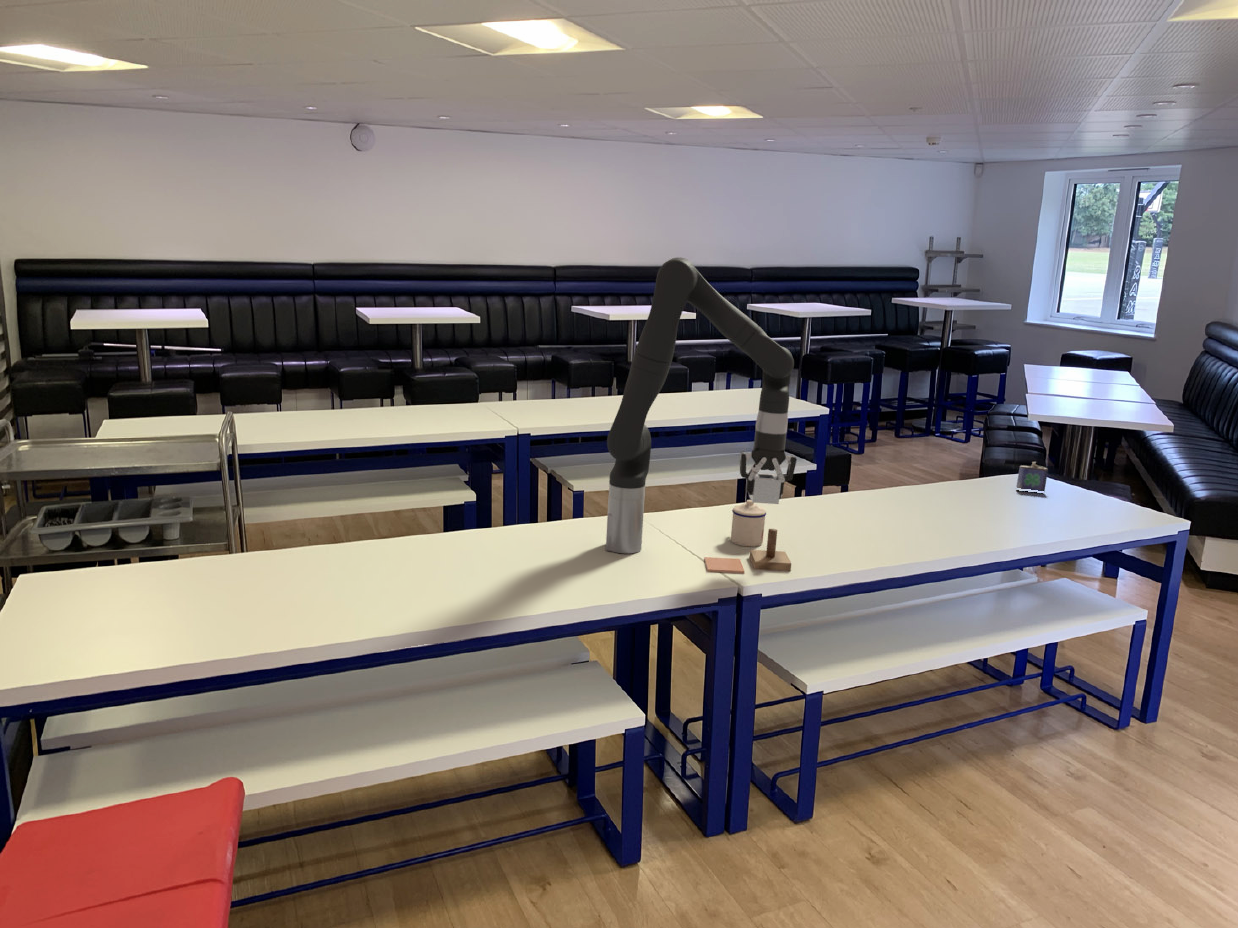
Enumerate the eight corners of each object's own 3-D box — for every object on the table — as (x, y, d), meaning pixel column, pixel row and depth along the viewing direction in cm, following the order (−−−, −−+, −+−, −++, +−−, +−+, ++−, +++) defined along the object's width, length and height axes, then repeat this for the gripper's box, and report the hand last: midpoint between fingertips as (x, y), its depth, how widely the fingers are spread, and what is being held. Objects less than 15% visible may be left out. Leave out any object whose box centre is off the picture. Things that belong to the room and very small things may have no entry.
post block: (754, 569, 230) (757, 534, 228) (749, 557, 239) (752, 523, 237) (790, 570, 230) (794, 536, 228) (784, 558, 239) (787, 525, 237)
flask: (1016, 491, 322) (1021, 461, 320) (1015, 489, 325) (1019, 459, 323) (1044, 494, 320) (1049, 464, 318) (1043, 492, 323) (1048, 462, 320)
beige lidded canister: (769, 546, 248) (773, 504, 245) (737, 548, 245) (741, 505, 243) (750, 532, 259) (754, 492, 256) (720, 534, 257) (723, 493, 254)
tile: (707, 571, 226) (707, 569, 226) (704, 559, 235) (704, 557, 235) (744, 573, 226) (744, 571, 226) (739, 561, 235) (739, 558, 235)
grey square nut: (752, 502, 227) (755, 478, 225) (748, 495, 233) (751, 472, 232) (778, 504, 227) (781, 480, 226) (774, 496, 233) (776, 473, 232)
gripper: (744, 430, 222) (737, 497, 226) (803, 434, 222) (795, 501, 226) (739, 424, 229) (733, 489, 233) (797, 428, 229) (789, 492, 234)
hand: (763, 494), depth 230 cm, fingers closed on grey square nut, 6 cm apart
